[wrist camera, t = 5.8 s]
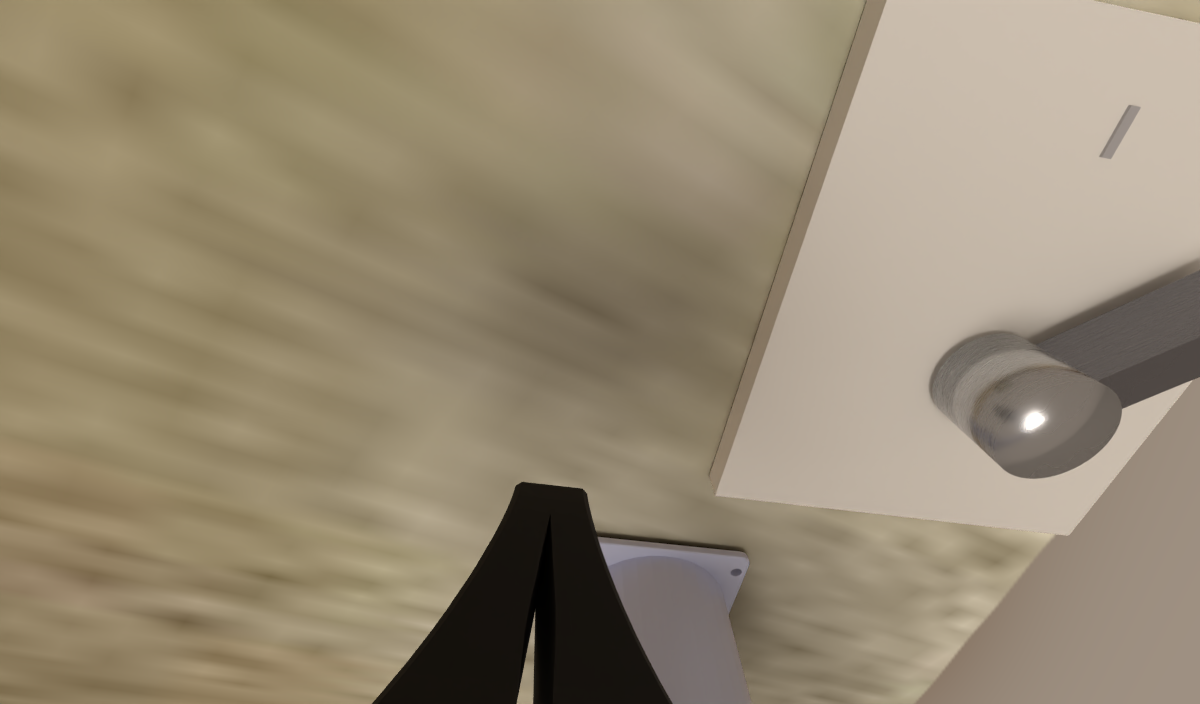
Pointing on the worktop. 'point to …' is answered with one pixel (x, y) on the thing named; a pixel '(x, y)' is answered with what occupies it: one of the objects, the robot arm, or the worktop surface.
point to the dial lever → (1070, 381)
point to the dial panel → (966, 249)
